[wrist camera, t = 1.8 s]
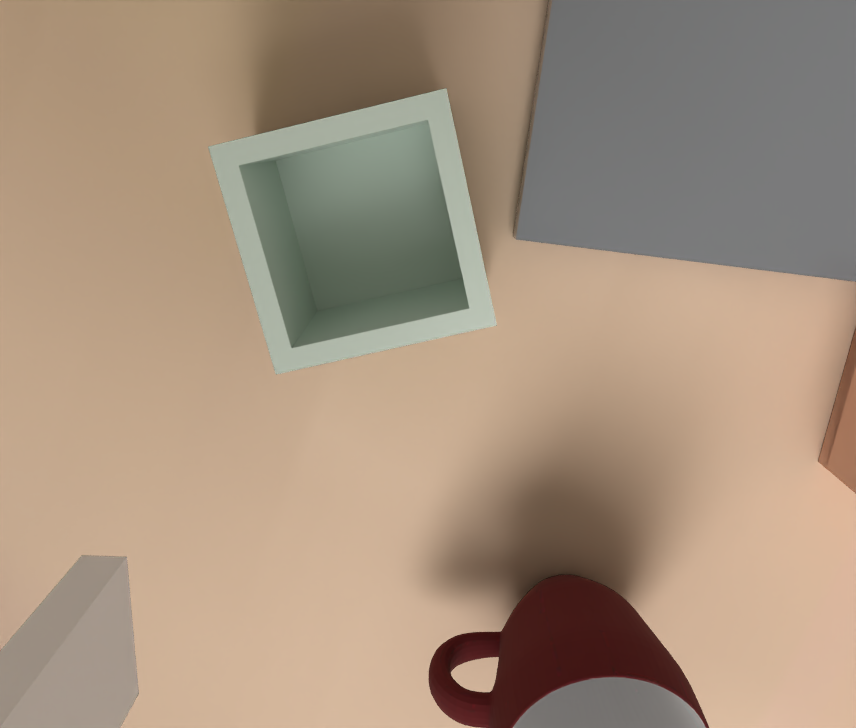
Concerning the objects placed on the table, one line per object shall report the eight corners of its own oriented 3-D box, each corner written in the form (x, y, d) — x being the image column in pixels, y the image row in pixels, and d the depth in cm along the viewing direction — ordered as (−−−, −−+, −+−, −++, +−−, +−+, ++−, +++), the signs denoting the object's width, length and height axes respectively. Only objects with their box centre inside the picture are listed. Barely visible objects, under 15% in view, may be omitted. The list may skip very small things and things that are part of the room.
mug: (441, 691, 40) (443, 868, 30) (421, 550, 37) (416, 692, 28) (649, 671, 39) (719, 844, 30) (642, 526, 37) (715, 663, 27)
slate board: (513, 235, 33) (515, 239, 32) (578, -197, 29) (584, -211, 28) (971, 292, 34) (990, 298, 33) (1104, -125, 29) (1131, -135, 28)
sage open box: (307, 328, 34) (275, 374, 28) (255, 145, 32) (207, 146, 26) (484, 288, 34) (496, 325, 27) (443, 99, 32) (446, 88, 25)
